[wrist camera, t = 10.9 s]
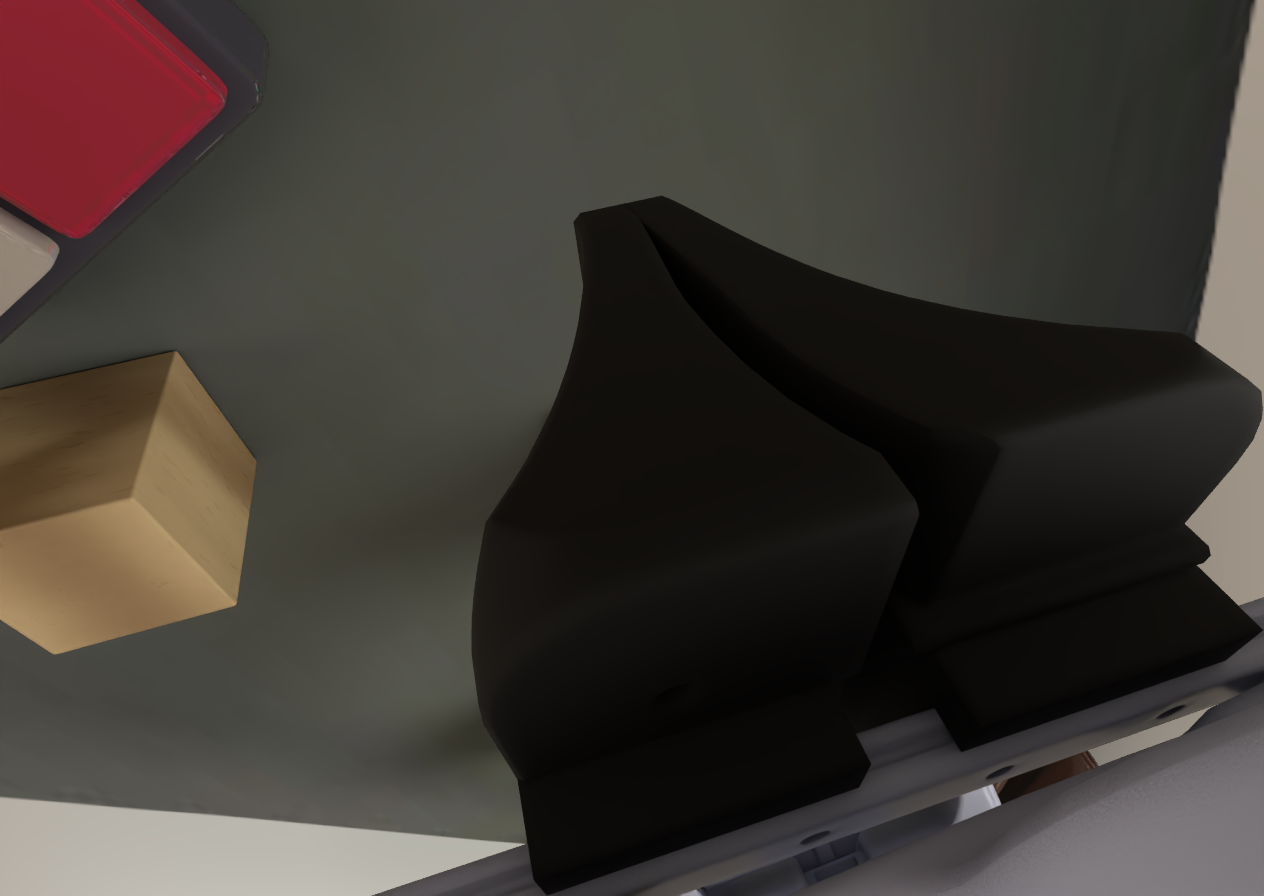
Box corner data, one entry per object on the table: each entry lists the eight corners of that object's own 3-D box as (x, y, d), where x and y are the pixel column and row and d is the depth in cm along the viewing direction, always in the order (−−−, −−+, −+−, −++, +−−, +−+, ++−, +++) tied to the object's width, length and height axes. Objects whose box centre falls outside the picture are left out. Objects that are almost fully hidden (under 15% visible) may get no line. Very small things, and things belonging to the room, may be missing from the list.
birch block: (177, 349, 20) (132, 498, 16) (258, 461, 24) (237, 606, 20) (-6, 389, 19) (-101, 555, 15) (106, 498, 23) (53, 656, 19)
